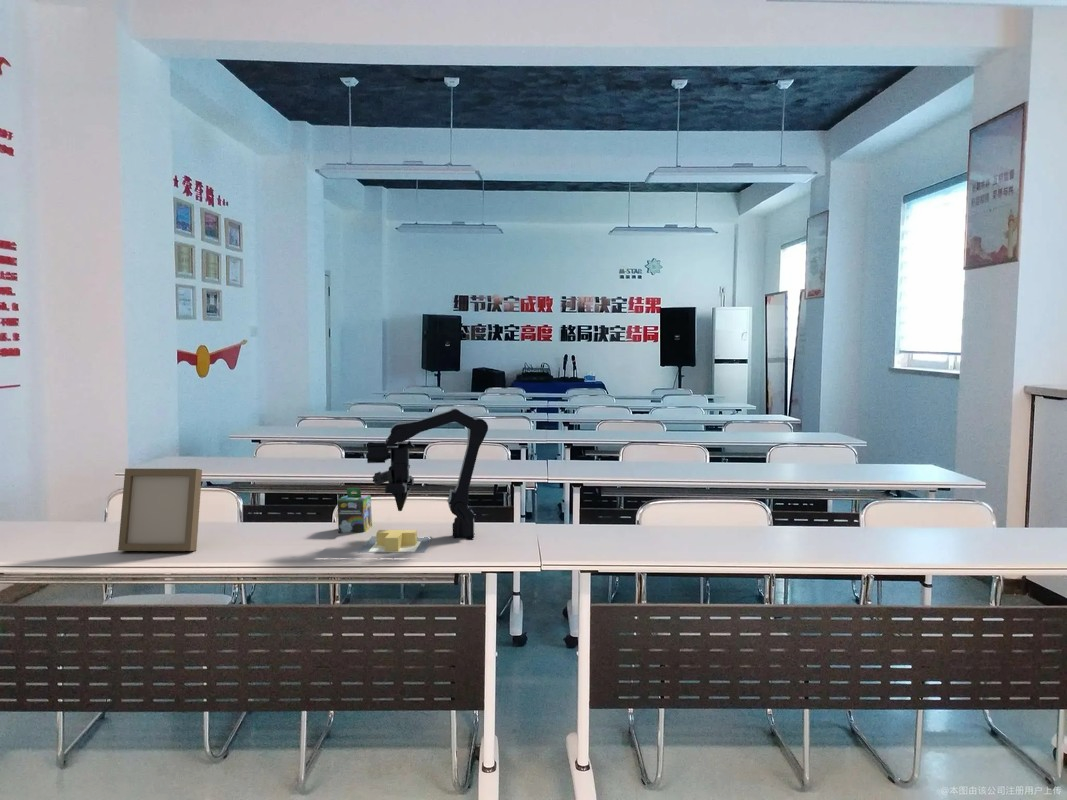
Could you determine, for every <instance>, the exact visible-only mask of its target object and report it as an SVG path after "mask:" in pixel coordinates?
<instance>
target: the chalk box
mask: <svg viewBox="0 0 1067 800" xmlns="http://www.w3.org/2000/svg"><path fill="white" fill-rule="evenodd" d="M352 492H356V494H352ZM361 493H362V492H361V488H360V487H347V488H346V494H347V495H345V496H341V497H340V498H339V499H338V500H337V522H338V523H337V524H338V526H337V527H338V533H339V532H343V533H365V532H367V531H368V530H370V529H371V528H372V527H373V518H372V495H371V494H361ZM371 526H372V527H371ZM370 527H371V528H370ZM369 528H370V529H369ZM366 530H367V531H366Z"/></svg>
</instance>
